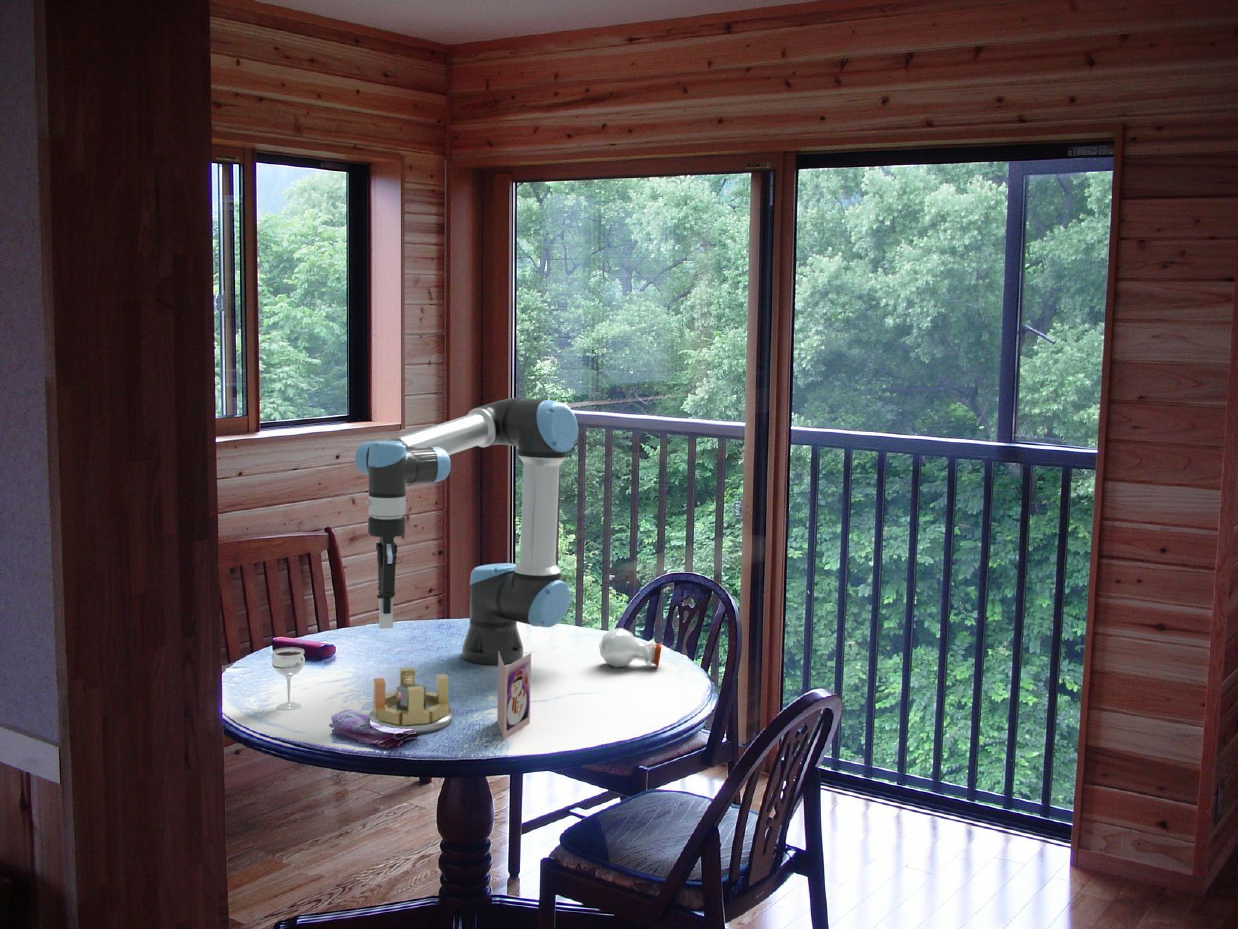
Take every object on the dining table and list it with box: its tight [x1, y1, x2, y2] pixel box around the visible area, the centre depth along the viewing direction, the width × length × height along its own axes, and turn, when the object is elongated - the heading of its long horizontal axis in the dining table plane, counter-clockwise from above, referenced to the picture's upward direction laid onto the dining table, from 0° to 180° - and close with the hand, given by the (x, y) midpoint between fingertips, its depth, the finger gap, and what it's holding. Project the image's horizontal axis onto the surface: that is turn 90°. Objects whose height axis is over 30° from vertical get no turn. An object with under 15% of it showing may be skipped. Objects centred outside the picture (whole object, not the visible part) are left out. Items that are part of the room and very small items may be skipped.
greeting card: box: [496, 651, 532, 740], centre depth 245 cm, size 11×7×15 cm, turn 157°
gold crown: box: [372, 667, 450, 725], centre depth 248 cm, size 15×15×7 cm
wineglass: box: [271, 647, 306, 711], centre depth 255 cm, size 7×7×12 cm
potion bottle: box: [599, 627, 662, 669], centre depth 292 cm, size 9×10×15 cm
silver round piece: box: [368, 683, 453, 735], centre depth 248 cm, size 17×17×7 cm
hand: (385, 627), depth 249 cm, fingers closed
